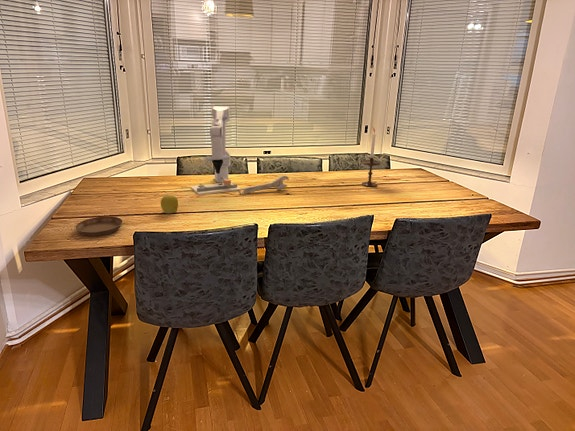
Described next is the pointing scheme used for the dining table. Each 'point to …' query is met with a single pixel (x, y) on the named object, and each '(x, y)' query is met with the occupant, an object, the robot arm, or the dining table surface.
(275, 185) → the wrench
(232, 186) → the bar
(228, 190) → the hole plate
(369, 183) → the candlestick
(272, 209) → the dining table surface
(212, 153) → the robot arm
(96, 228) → the plant saucer
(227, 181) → the leg
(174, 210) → the apple
